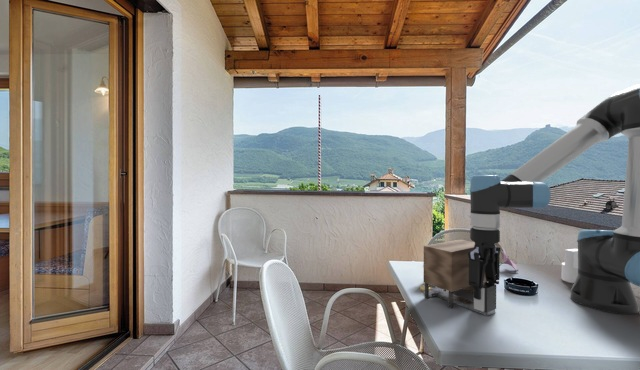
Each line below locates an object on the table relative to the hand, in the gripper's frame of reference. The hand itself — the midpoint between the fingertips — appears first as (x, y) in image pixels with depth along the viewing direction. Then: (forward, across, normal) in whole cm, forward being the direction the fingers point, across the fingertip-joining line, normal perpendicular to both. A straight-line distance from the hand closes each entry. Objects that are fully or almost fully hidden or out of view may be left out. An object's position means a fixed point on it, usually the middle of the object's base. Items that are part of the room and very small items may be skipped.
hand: (484, 307), depth 85 cm
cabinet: (+1, -4, -11) cm, 12 cm away
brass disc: (+1, 0, -20) cm, 20 cm away
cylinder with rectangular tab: (+2, -56, +5) cm, 57 cm away
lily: (+2, -48, -16) cm, 51 cm away
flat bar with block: (+1, 0, -8) cm, 8 cm away
